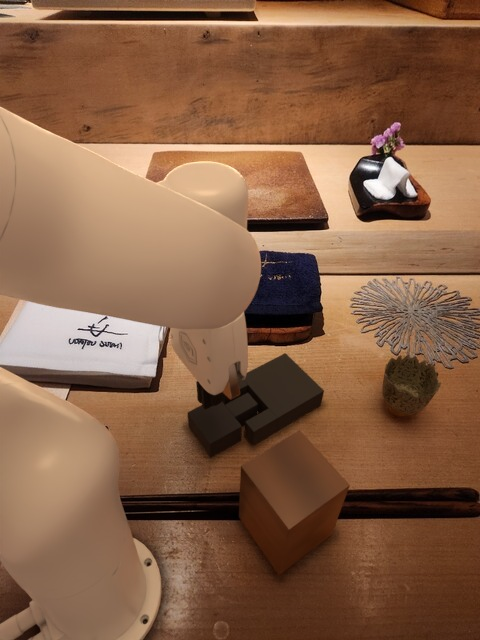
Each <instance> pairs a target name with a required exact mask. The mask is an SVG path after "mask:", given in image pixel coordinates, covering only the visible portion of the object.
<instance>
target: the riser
mask: <svg viewBox="0 0 480 640" xmlns="http://www.w3.org/2000/svg"><path fill="white" fill-rule="evenodd" d="M239 475H240V477H239V480H240V481H239V499H238V500H239V501H238V502H239V503H238V518H239V520H240V522H241V524H243V526H244V527H245V529H246V530H247V531H248V533H249V535H250V536H251V537H252V539H253V540H254V542H255V544H257V546H258V548H259V549H260V550H261V552H262V553H263V555H264V556H265V558H266V559H267V561H268V562H269V563H270V565H271V566H272V568H273V569H274V571H275V573H276V574H277V575H278V576H281V575H282V574H283V573H285V572H286V571H287V570H288V569H290V568H292V566H293V565H295V564H296V563H298V562H299V561H300V560H301V559H303V558H304V557H305V556H307V555H308V554H309V553H311V551H313V550H314V549H316V548H317V547H318V546H320V545H321V544H322V543H323V542H325V541H326V540H327V539H328V538H330V537H331V536H332V535H333V532H334V529H335V527H336V524H337V521H338V518H339V517H340V514H341V511H342V509H343V508H342V507H343V505H344V503H345V500H346V497H347V495H348V492H349V488H350V486H351V485H350V483H348V481H347V480H346V479H345V478H344V477H343V476H342V474H340V472H339V471H338V470H337V469H336V468H335V467H334V466H333V465H332V463H330V462H329V460H328V459H327V458H326V457H325V456H324V455H323V454H322V453H321V452H320V450H319V449H318V448H317V446H315V445H314V444H313V443H312V442H311V441H310V439H309V438H308V437H307V436H306V435H305V434H304V433H303V432H302V431H301V430H300V429H297V430H296V431H295V432H293V433H291V434H290V435H288V436H287V437H285V438H284V439H281V440H280V441H279V442H277V443H275V444H274V445H272V446H270V447H268V448H267V449H265V450H264V451H263V452H261V453H259V454H258V455H256V456H254V457H253V458H251V459H249V460H248V461H246V462H245V463H243V464H241V465H240V474H239Z"/></svg>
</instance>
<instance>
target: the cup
mask: <svg viewBox="0 0 480 640" xmlns="http://www.w3.org/2000/svg"><path fill="white" fill-rule="evenodd" d="M402 357H403V356H402V354H401V355H400V354H399V355H398V356H397V357H396V358H393V357H391V358H390V359H389V360H388V362H387V363H386V364H385V367H384V375H383V380H382V386H381V393H382V398H383V401H384V402H385V404H386V407H387V409H388V411H389V413H391V415H393V416H395V417H397V418H406V417H409V416H410V415H414V414H418V413H419V412H421V411H423V410H424V409H425V408H426V407H427V406H428V405H429V403H430V402H431V401H432V399H433V398H434V396H435V395H436V394H437V392H438V391H439V390H440V387H441V385H442V382H439V380H438V379H439V372H438V371H436V366H435V365H433V364H427V360H426V359H423V360H421V361H419V359H418V357H417V356H415V355H414V356H412V357H411V355H410V354H407V355H405V356H404V357H403V358H402Z"/></svg>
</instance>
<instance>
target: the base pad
mask: <svg viewBox="0 0 480 640" xmlns="http://www.w3.org/2000/svg"><path fill="white" fill-rule="evenodd" d="M238 382H239V389H240V395H239V396H237V397H235V398H233V399H232V400H230V399H229V398H228V397H227V396H226V397H225V399H224V400H223V401H222V402H223V403H224V405H226V404H228V403H229V402H231V401H233V400H235V399H237V398H239V397H241V396H243V395H244V394H246V393H249V394H250V395H251V397H252V398H253V399H254V400H255V401H256V402H257V403H258V411H257V415H256V416H254V417H253V418H251V419H249V420H247V421H246V422H245V426H244V437H245V438H246V440H247V442H249V443H250V444H251V446H252V447H254V446H256V445H257V444H259V443H260V442H262V441H265V440H266V439H267V438H269V437H271V436H272V435H274V434H276V433H277V432H279V431H281V430H283V429H284V428H286V427H287V426H289V425H290V424H292V423H294V422H296V421H297V420H299V419H301V418H302V417H304V416H305V415H307V414H309V413H310V412H312V411H313V410H315V409H317V408H319V407H321V406H322V401H323V398H324V393H325V390H324V389H323V388H322V387H321V386H320V385H319V384H318V383H317V382H316V381H315V380H314V379H313V378H312V377H311V376H310V375H309V374H308V373H307V372H305V370H304V369H303V368H302V367H301V366H300V365H299V364H298V363H297V362H296V361H294V359H292V357H290V356H289V355H288V354H287V353H286V352H284V353H283V354H281V355H279V356H277V357H275V358H273V359H271V360H269V361H267V362H265V363H263V364H261V365H259V366H257V367H255V368H253V369H252V370H249V371H247V374H246V378H245V380H240V378H238Z"/></svg>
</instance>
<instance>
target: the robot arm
mask: <svg viewBox="0 0 480 640" xmlns="http://www.w3.org/2000/svg"><path fill="white" fill-rule="evenodd" d="M248 211H249V189H248V184H247V180H246V179H245V177H244V175H242V173H241V172H240V171H239V170H237V169H235V168H234V167H232V166H231V165H228V164H226V163H222V162H217V161H194V162H192V161H191V162H187V163H182V164H181V165H178V166H176V167H174V168H173V169H172V170H171V171H169V172H168V173H167V174H166V175H165V177H164V179H162V180H159V181H157V182H155V181H153V180H150V179H148V178H146V177H144V176H142V175H140V174H138V173H136V172H134V171H132V170H129V169H128V168H126V167H124V166H122V165H120V164H119V163H116V162H114V161H113V160H110V159H108V158H106V157H105V156H103V155H101V154H99V153H96V152H94V151H93V150H90V149H88V148H86V147H84V146H82V145H79V144H78V143H75V142H73V141H71V140H69V139H67V138H65V137H62V136H61V135H57V134H55V133H53V132H51V131H49V130H47V129H44V128H43V127H40V126H38V125H36V124H35V123H33V122H31V121H29V120H27V119H25V118H23V117H21V116H19V115H18V114H16V113H14V112H11V111H10V110H8V109H6V108H4V107H2V106H1V105H0V296H5V297H9V298H13V299H16V300H21V301H25V302H28V303H29V302H30V303H34V304H38V305H43V306H47V307H52V308H58V309H62V310H63V309H64V310H70V311H77V312H83V313H89V314H95V315H100V316H106V317H111V318H116V319H121V320H125V321H132V322H136V323H142V324H145V325H146V324H147V325H152V326H158V327H165V328H169V329H170V331H169V333H170V344H171V348H172V349H173V352H175V354H176V355H177V357H178V359H179V360H180V361H181V362H182V363H183V365H184V366H185V367H186V368H187V370H188V371H189V372H190V374H191V375H192V376H193V377H194V378H195V380H196V381H195V382H196V383H195V384H196V398H197V401H198V403H199V404H201V405H202V407H203V408H204V409H208V408H210V407H212V406H216V405H218V404H220V403H221V402H222V401H223V400H224V399H225V397H226V396H227V397H228V398H229V399H230V400H232V399H233V398H235V397H237V396H239V395H240V389H239V382H238V378H240V380H245V378H246V374H247V372H248V367H249V366H248V365H249V346H248V345H249V344H248V343H249V342H248V331H247V321H246V316H245V311H246V310H247V309H248V307H249V306H250V305H251V303H252V301H253V299H254V298H255V295H256V293H257V291H258V288H259V284H260V280H261V274H262V261H261V260H262V259H261V253H260V249H259V246H258V244H257V241H256V240H255V238H254V237H253V235H252V234H251V232H250V231H249V230H248V214H249V213H248ZM120 470H121V455H120V448H119V445H118V442H117V440H116V438H115V437H114V435H113V433H112V432H111V431H110V430H109V429H108V428H107V427H106V426H105V425H104V424H103V423H102V422H101V421H99V420H98V419H96V418H95V417H94V416H93V415H92V414H89V412H87V411H85V410H84V409H82V408H81V407H79V406H78V405H75V404H74V403H71V402H70V401H68V400H66V399H64V398H62V397H61V396H58V395H56V394H55V393H53V392H51V391H49V390H47V389H45V388H42V387H41V386H39V385H37V384H35V383H33V382H30V381H29V380H26V379H25V378H22V377H21V376H19V375H16V374H15V373H13V372H11V371H9V370H8V369H5V368H3V367H1V366H0V562H1V564H2V566H3V568H4V569H5V571H6V572H7V573H8V575H9V576H10V577H11V578H12V579H13V580H14V581H15V583H16V584H17V585H18V586H19V587H20V588H21V589H22V590H23V591H24V592H25V593H26V594H27V595H28V596H29V598H30V599H31V601H29V606H28V607H27V608H25V609H24V610H22V611H20V612H19V613H17V614H16V613H15V614H14V615H12V616H11V617H9V618H7V619H6V620H4V621H3V622H1V623H0V640H16V639H17V638H19V637H20V636H22V635H23V634H24V633H25V632H26V631H28V630H29V629H31V628H33V627H34V626H38V627H39V630H40V632H39V633H36V635H33V636H31V637H30V638H28V639H27V640H144V639H145V638H146V636H147V634H148V633H149V632H150V630H151V629H152V627H153V625H154V622H155V621H156V618H157V615H158V612H159V609H160V605H161V601H162V600H161V599H162V593H163V589H162V577H161V572H160V569H159V566H158V563H157V560H156V559H155V557H154V555H153V553H152V552H151V550H150V549H149V548H148V547H147V546H146V545H145V544H144V543H143V542H141V541H140V540H138V539H137V538H135V537H133V533H132V530H131V527H130V524H129V521H128V518H127V516H126V512H125V510H124V506H123V504H122V500H121V496H120V490H119V489H120V488H119V483H120V482H119V481H120ZM148 564H150V565H149V566H148ZM146 620H147V622H146V623H144V621H146Z"/></svg>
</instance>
